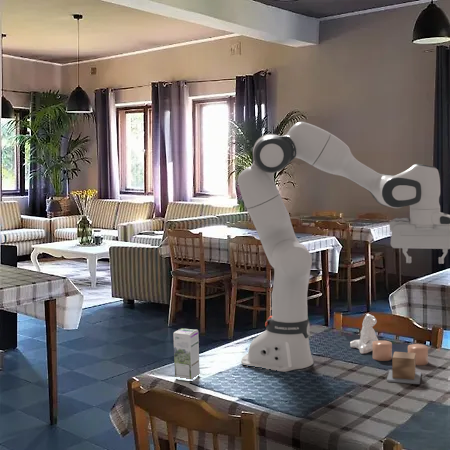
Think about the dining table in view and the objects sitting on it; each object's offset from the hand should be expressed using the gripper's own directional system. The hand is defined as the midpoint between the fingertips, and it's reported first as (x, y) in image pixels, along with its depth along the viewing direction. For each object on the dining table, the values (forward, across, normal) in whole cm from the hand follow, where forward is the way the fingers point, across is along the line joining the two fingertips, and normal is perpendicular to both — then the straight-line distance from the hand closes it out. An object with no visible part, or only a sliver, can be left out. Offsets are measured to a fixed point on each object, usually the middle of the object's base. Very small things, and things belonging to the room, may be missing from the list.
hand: (424, 263), depth 207 cm
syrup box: (+31, -66, -32) cm, 80 cm away
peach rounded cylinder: (+31, -2, 0) cm, 31 cm away
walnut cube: (+30, -5, -16) cm, 35 cm away
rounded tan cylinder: (+31, -13, +2) cm, 34 cm away
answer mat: (+31, -5, -16) cm, 35 cm away
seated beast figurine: (+31, -19, +11) cm, 38 cm away
